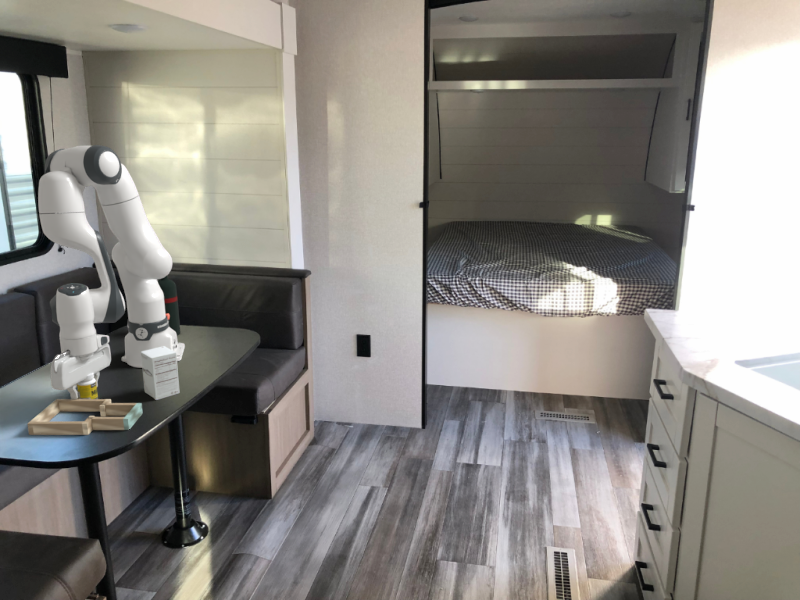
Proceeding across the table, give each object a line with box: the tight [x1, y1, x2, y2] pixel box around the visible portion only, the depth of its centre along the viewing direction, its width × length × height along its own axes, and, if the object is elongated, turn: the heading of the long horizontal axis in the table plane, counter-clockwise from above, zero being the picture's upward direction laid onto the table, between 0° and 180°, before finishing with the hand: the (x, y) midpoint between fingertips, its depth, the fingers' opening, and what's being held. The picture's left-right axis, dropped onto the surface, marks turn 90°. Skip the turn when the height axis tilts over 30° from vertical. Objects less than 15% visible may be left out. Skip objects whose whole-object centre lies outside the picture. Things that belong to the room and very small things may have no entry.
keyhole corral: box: [27, 398, 143, 436], centre depth 164 cm, size 14×23×3 cm, turn 92°
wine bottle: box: [157, 275, 181, 336], centre depth 229 cm, size 8×10×30 cm
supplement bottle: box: [76, 373, 99, 399], centre depth 174 cm, size 5×5×8 cm
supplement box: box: [141, 346, 181, 401], centre depth 180 cm, size 7×7×13 cm
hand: (84, 392), depth 174 cm, fingers open, 6 cm apart
